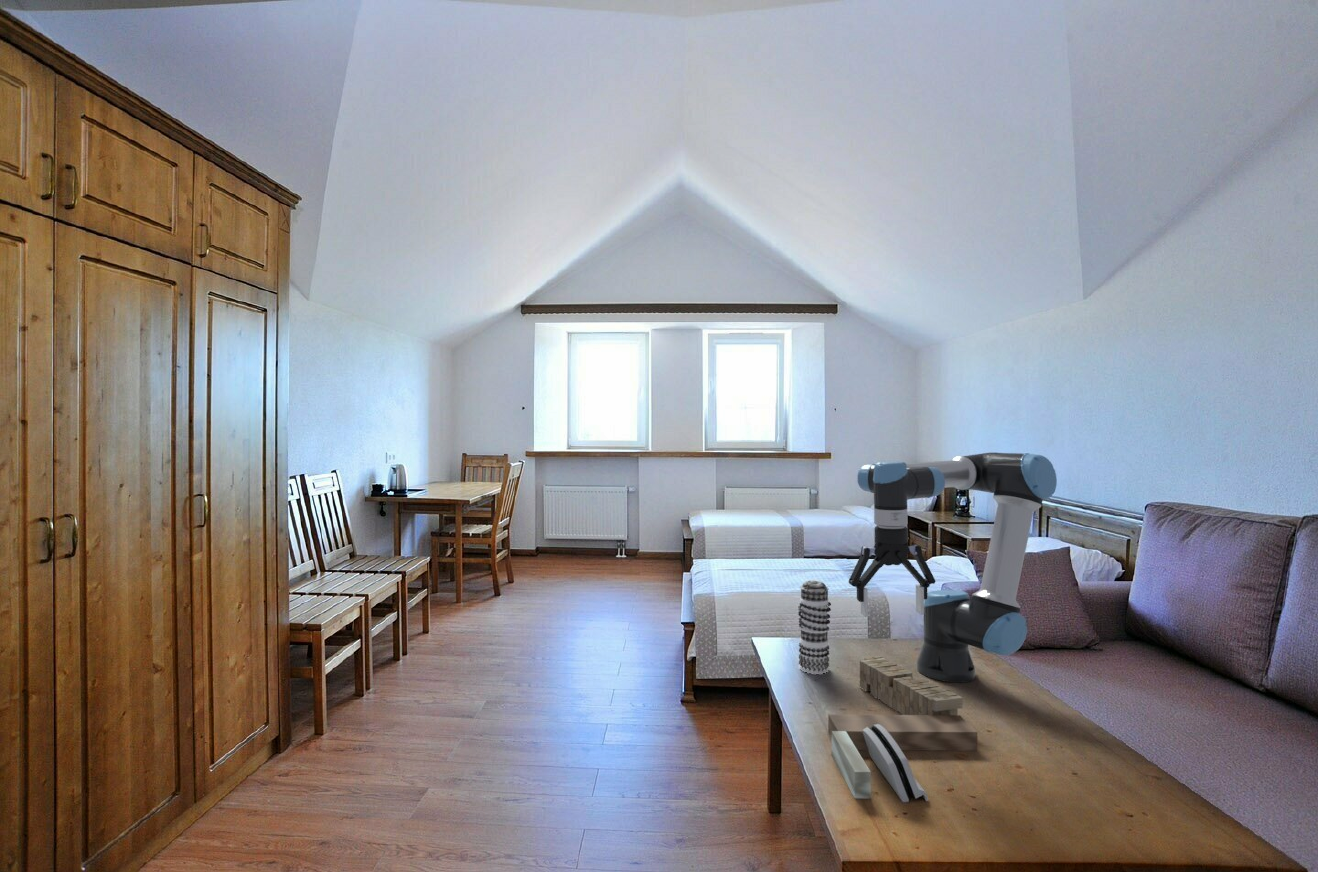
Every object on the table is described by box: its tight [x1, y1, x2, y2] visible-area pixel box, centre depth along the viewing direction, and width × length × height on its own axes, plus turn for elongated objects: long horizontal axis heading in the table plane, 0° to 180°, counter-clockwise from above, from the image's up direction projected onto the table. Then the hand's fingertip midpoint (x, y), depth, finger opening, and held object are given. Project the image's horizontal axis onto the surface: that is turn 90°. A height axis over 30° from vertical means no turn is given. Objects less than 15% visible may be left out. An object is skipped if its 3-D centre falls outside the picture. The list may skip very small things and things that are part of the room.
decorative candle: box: [797, 580, 832, 675], centre depth 182 cm, size 9×9×25 cm
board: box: [827, 714, 978, 799], centre depth 132 cm, size 32×26×5 cm
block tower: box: [859, 655, 964, 715], centre depth 158 cm, size 8×8×29 cm
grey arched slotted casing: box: [862, 724, 929, 803], centre depth 126 cm, size 17×5×10 cm, turn 2°
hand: (892, 613), depth 152 cm, fingers open, 13 cm apart
